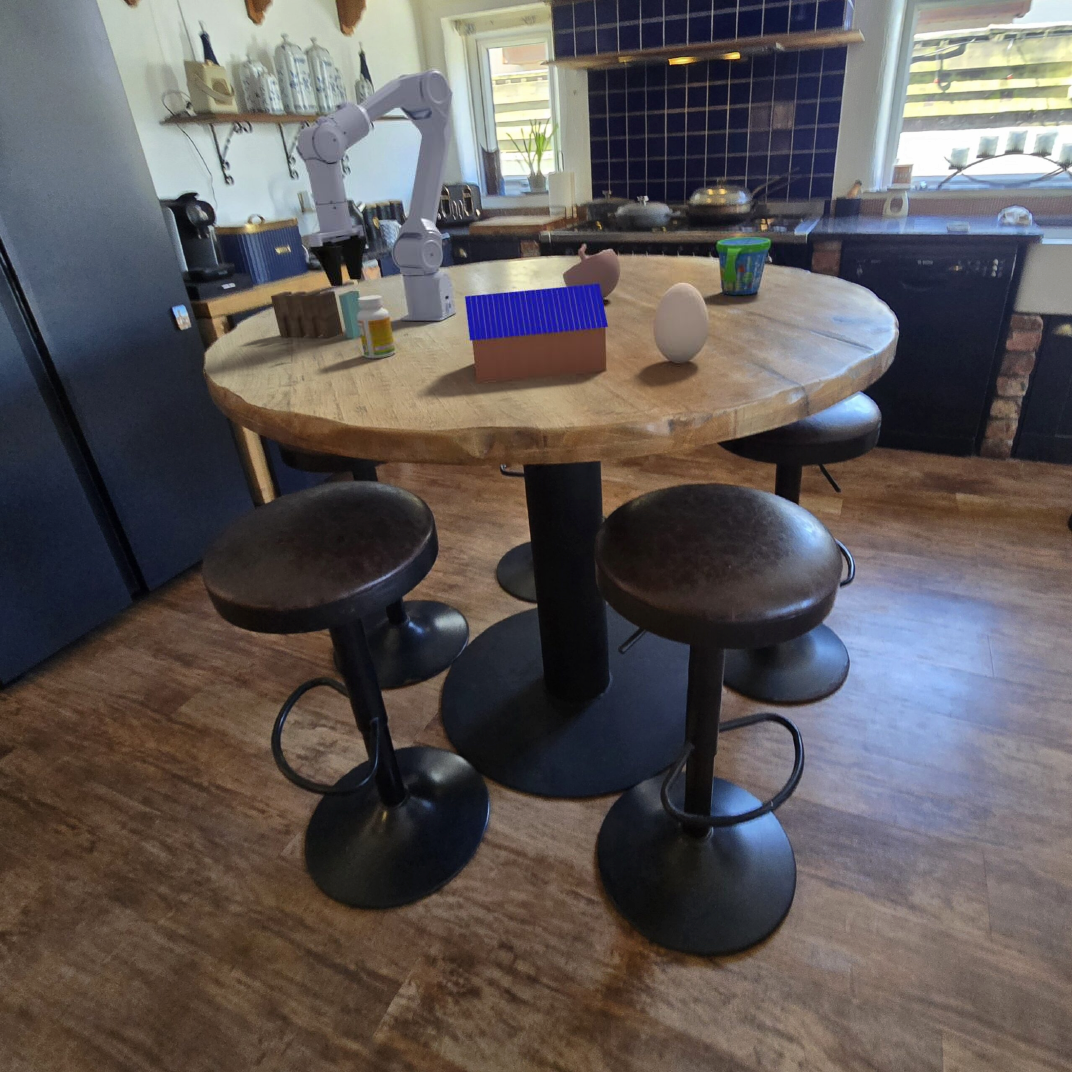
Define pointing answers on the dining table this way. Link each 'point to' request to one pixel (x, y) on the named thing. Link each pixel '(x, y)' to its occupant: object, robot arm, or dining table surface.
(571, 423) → the dining table surface
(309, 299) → the tile
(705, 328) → the egg
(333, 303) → the tile
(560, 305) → the house
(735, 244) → the snack cup
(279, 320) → the tile
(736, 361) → the dining table surface
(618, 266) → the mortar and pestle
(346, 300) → the teal tile
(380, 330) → the supplement bottle
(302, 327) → the tile
